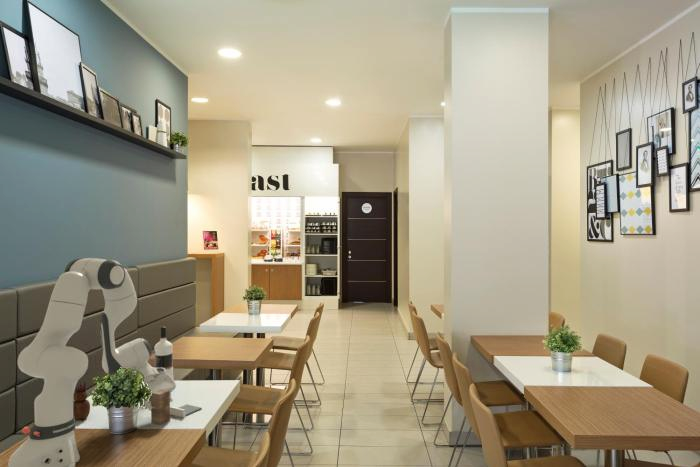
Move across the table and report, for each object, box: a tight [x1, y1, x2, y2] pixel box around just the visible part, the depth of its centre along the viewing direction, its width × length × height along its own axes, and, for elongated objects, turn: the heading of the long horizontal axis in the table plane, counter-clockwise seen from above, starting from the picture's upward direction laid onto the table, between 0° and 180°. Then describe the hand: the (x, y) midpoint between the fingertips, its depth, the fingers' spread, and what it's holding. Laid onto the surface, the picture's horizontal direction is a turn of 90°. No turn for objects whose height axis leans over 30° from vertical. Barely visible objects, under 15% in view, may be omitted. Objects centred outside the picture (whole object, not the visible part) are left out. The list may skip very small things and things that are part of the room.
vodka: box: [153, 326, 175, 381], centre depth 243 cm, size 9×9×30 cm
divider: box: [170, 405, 186, 419], centre depth 209 cm, size 1×12×3 cm, turn 61°
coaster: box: [178, 403, 202, 417], centre depth 213 cm, size 9×9×1 cm
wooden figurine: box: [73, 381, 91, 421], centre depth 206 cm, size 7×6×15 cm
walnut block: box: [150, 389, 171, 426], centre depth 202 cm, size 5×5×12 cm
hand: (161, 405), depth 202 cm, fingers open, 8 cm apart
